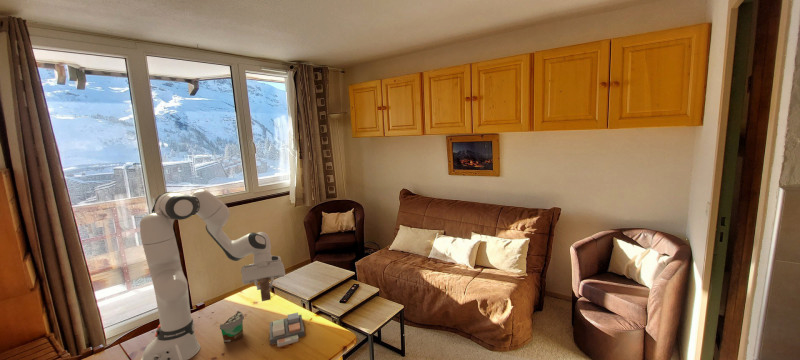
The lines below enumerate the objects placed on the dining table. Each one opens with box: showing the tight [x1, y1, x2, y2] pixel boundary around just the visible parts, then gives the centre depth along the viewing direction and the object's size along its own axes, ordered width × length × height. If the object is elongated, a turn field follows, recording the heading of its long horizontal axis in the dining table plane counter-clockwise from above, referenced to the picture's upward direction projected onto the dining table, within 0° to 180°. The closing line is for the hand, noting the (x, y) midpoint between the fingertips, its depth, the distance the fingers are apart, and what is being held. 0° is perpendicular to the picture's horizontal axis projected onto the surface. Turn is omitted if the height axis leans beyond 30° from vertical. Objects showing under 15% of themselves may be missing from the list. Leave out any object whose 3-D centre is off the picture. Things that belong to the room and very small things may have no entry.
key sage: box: [272, 318, 285, 326], centre depth 157 cm, size 5×5×2 cm
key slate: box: [287, 312, 300, 325], centre depth 160 cm, size 5×5×2 cm
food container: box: [219, 310, 245, 344], centre depth 152 cm, size 12×6×10 cm, turn 168°
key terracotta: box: [289, 323, 301, 333], centre depth 153 cm, size 5×5×2 cm
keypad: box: [269, 314, 306, 348], centre depth 154 cm, size 15×18×2 cm
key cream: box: [273, 323, 285, 337], centre depth 151 cm, size 5×5×2 cm
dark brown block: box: [259, 278, 272, 302], centre depth 161 cm, size 4×4×10 cm
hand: (264, 288), depth 160 cm, fingers closed on dark brown block, 4 cm apart
